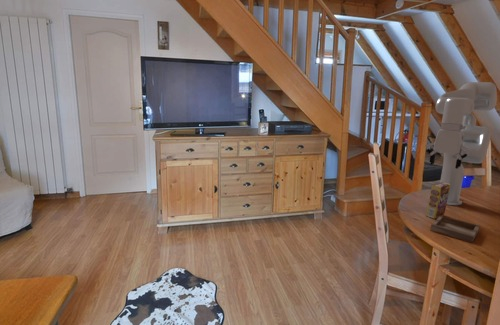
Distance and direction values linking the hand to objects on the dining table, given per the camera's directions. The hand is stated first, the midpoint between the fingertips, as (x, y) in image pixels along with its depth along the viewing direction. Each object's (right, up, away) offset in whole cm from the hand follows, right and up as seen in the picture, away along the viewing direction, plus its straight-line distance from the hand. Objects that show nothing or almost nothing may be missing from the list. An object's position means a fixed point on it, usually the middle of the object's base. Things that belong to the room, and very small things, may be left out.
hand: (444, 166), depth 137 cm
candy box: (-1, -23, +6) cm, 24 cm away
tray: (-2, -27, -9) cm, 28 cm away
